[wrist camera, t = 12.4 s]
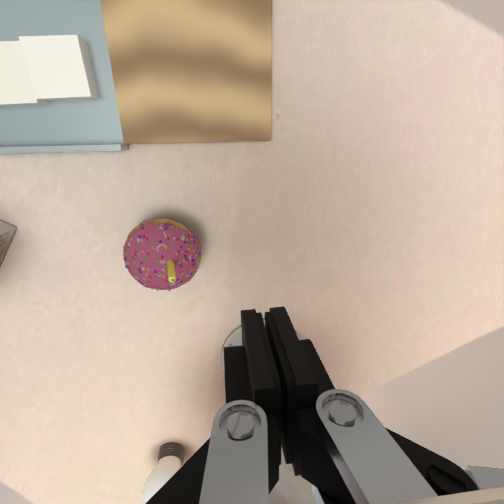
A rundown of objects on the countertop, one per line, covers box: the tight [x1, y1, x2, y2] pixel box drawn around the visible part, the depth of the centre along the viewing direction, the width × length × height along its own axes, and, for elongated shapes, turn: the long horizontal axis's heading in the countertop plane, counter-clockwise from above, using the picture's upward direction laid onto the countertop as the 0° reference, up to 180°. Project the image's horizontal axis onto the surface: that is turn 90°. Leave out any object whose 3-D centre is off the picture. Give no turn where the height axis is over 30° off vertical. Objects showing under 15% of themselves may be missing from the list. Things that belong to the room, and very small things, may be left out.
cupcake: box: [123, 218, 201, 291], centre depth 33 cm, size 9×8×12 cm
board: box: [100, 0, 272, 144], centre depth 31 cm, size 14×16×2 cm
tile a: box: [18, 35, 99, 101], centre depth 29 cm, size 5×5×2 cm
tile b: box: [0, 41, 50, 107], centre depth 29 cm, size 5×5×2 cm
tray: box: [0, 0, 129, 154], centre depth 29 cm, size 15×15×3 cm
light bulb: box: [142, 443, 184, 504], centre depth 47 cm, size 7×7×11 cm
